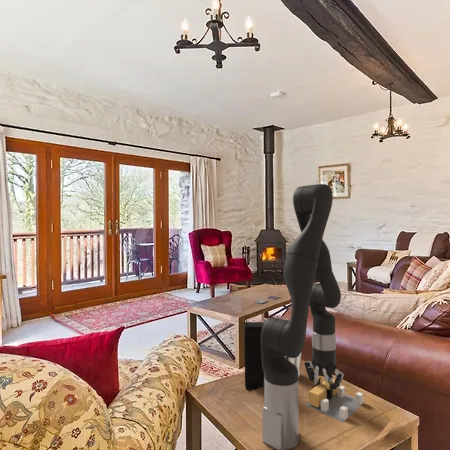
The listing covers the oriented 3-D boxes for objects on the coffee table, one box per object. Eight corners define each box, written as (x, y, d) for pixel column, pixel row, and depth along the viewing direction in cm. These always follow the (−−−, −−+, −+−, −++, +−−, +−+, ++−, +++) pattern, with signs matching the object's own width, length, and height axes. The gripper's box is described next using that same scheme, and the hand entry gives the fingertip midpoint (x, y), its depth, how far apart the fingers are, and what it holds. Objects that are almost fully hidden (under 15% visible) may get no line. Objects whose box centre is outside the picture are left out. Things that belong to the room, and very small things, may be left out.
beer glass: (294, 371, 136) (294, 333, 136) (305, 379, 130) (305, 339, 129) (279, 375, 134) (278, 336, 133) (289, 383, 127) (289, 342, 127)
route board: (343, 425, 102) (343, 412, 102) (304, 408, 111) (304, 395, 111) (364, 404, 113) (364, 392, 113) (327, 390, 122) (327, 379, 122)
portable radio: (266, 381, 129) (266, 314, 128) (267, 390, 123) (266, 319, 122) (245, 380, 129) (244, 314, 128) (244, 389, 124) (244, 319, 122)
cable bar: (317, 407, 109) (317, 395, 109) (308, 403, 111) (308, 391, 111) (337, 392, 118) (337, 380, 118) (328, 388, 120) (329, 377, 120)
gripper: (298, 342, 116) (298, 393, 117) (338, 354, 106) (338, 410, 107) (310, 337, 122) (310, 385, 122) (349, 347, 112) (349, 400, 112)
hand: (323, 396), depth 115 cm, fingers closed on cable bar, 3 cm apart
